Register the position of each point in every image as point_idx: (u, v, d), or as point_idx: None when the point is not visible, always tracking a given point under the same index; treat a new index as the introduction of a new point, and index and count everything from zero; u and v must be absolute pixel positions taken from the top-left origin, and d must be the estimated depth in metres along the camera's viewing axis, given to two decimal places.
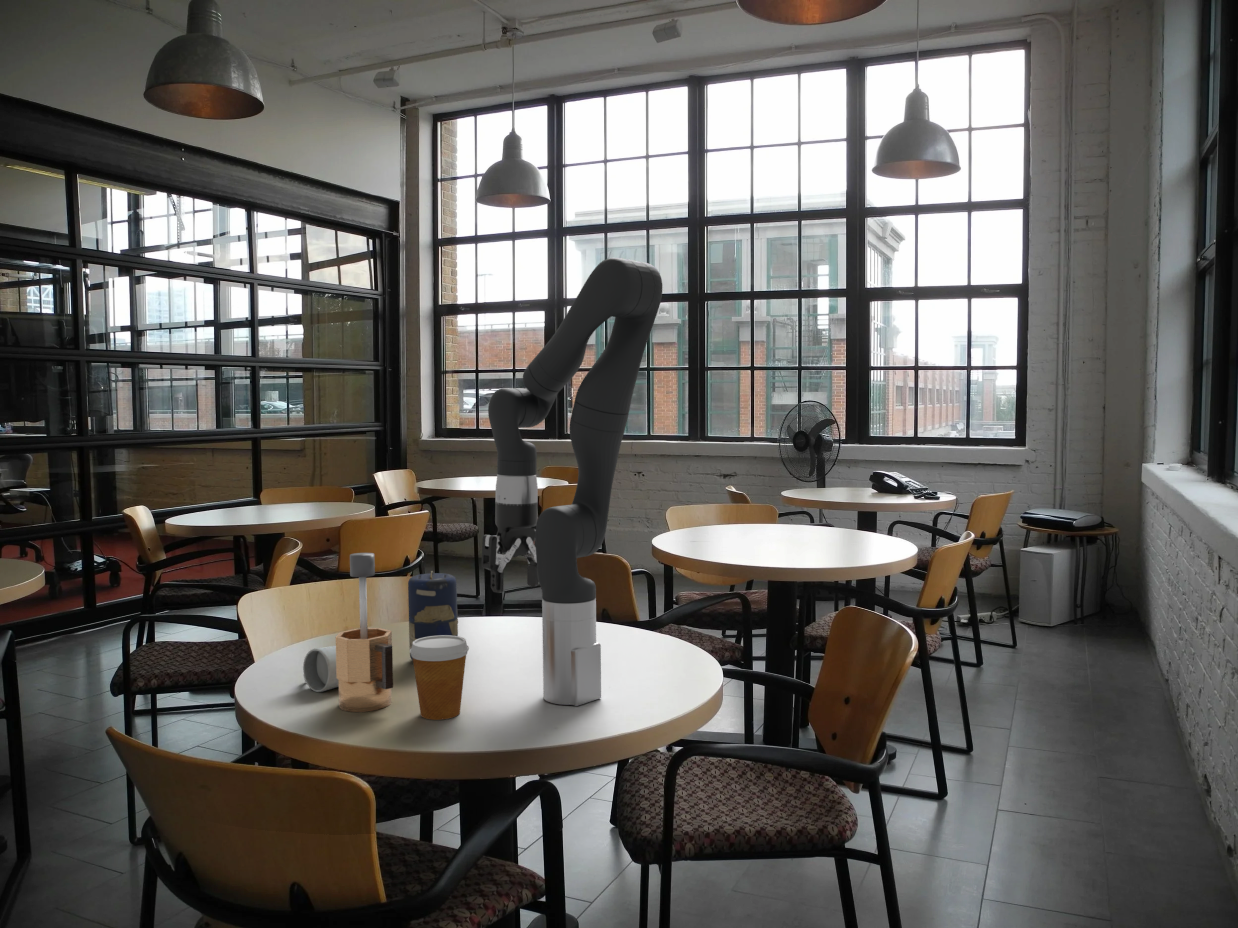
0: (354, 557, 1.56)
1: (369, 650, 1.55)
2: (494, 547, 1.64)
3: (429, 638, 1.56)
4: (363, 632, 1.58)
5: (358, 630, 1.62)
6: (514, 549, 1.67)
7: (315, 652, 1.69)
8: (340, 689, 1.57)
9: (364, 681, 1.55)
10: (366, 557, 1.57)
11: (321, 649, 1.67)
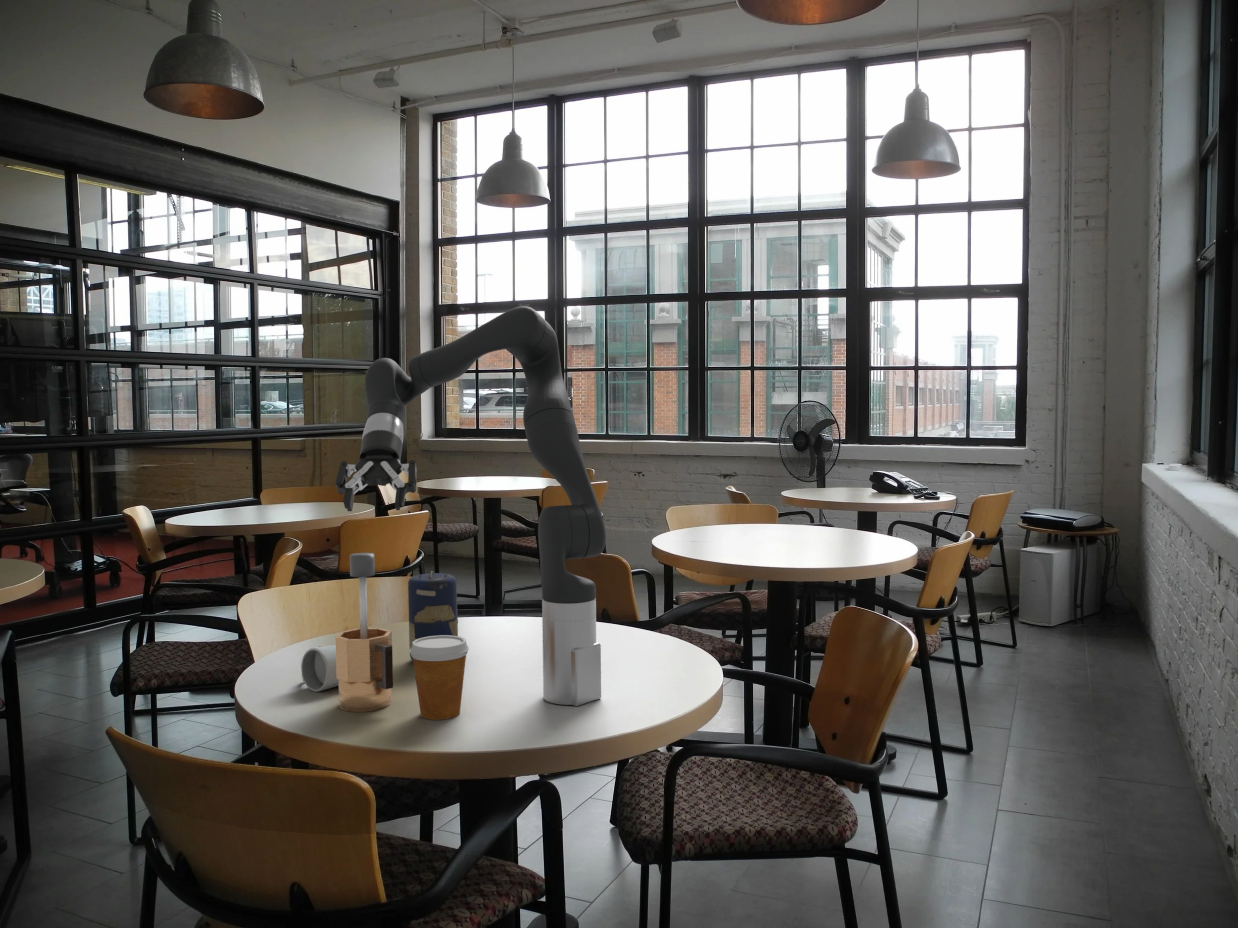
0: (354, 557, 1.56)
1: (369, 650, 1.55)
2: None
3: (429, 638, 1.56)
4: (363, 632, 1.58)
5: (358, 630, 1.62)
6: None
7: (313, 652, 1.69)
8: (340, 689, 1.57)
9: (364, 681, 1.55)
10: (366, 557, 1.57)
11: (319, 649, 1.67)
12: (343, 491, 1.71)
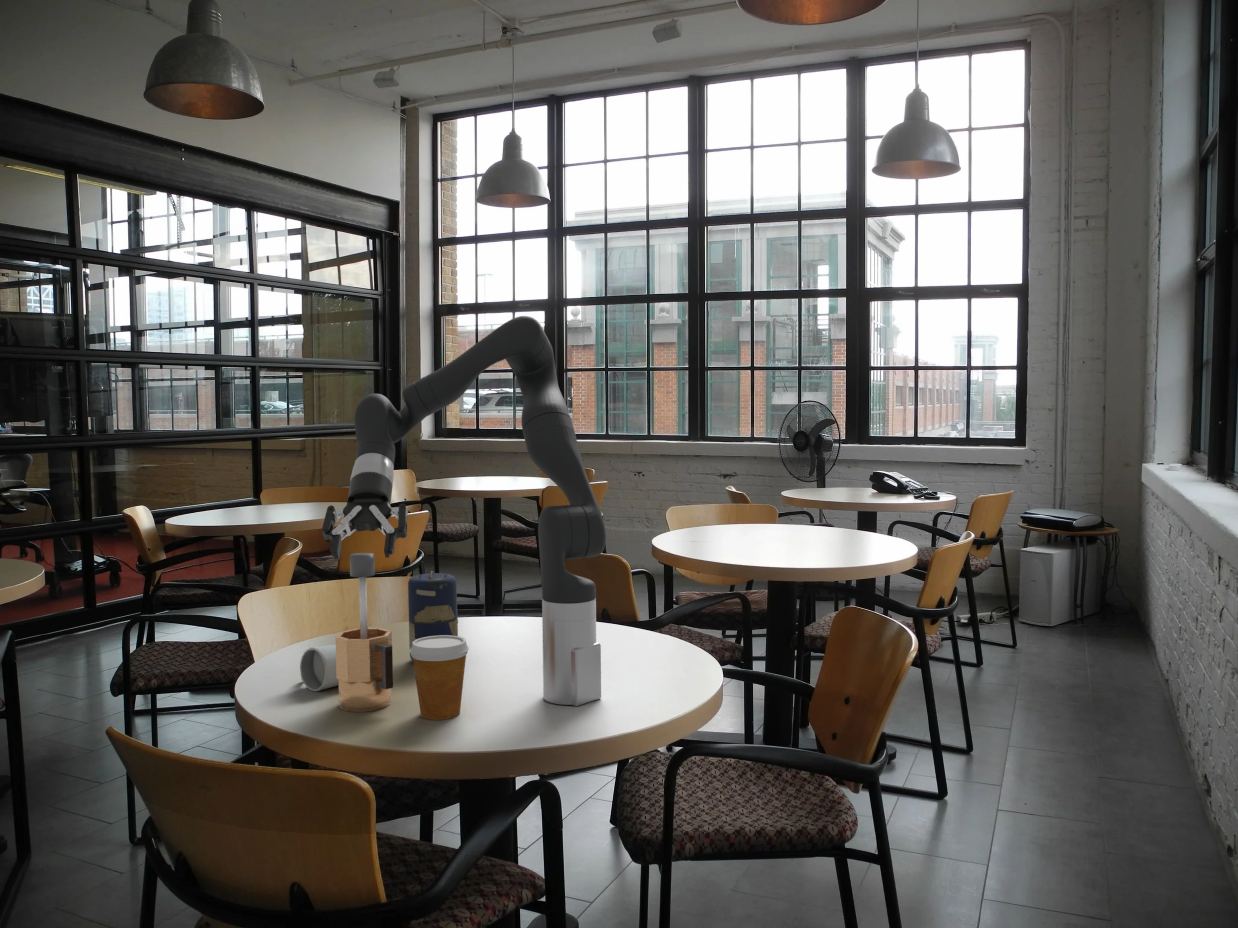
0: (354, 557, 1.56)
1: (369, 650, 1.55)
2: None
3: (429, 638, 1.56)
4: (363, 632, 1.58)
5: (358, 630, 1.62)
6: None
7: (312, 651, 1.70)
8: (340, 689, 1.57)
9: (364, 681, 1.55)
10: (366, 557, 1.57)
11: (318, 648, 1.67)
12: (330, 538, 1.63)
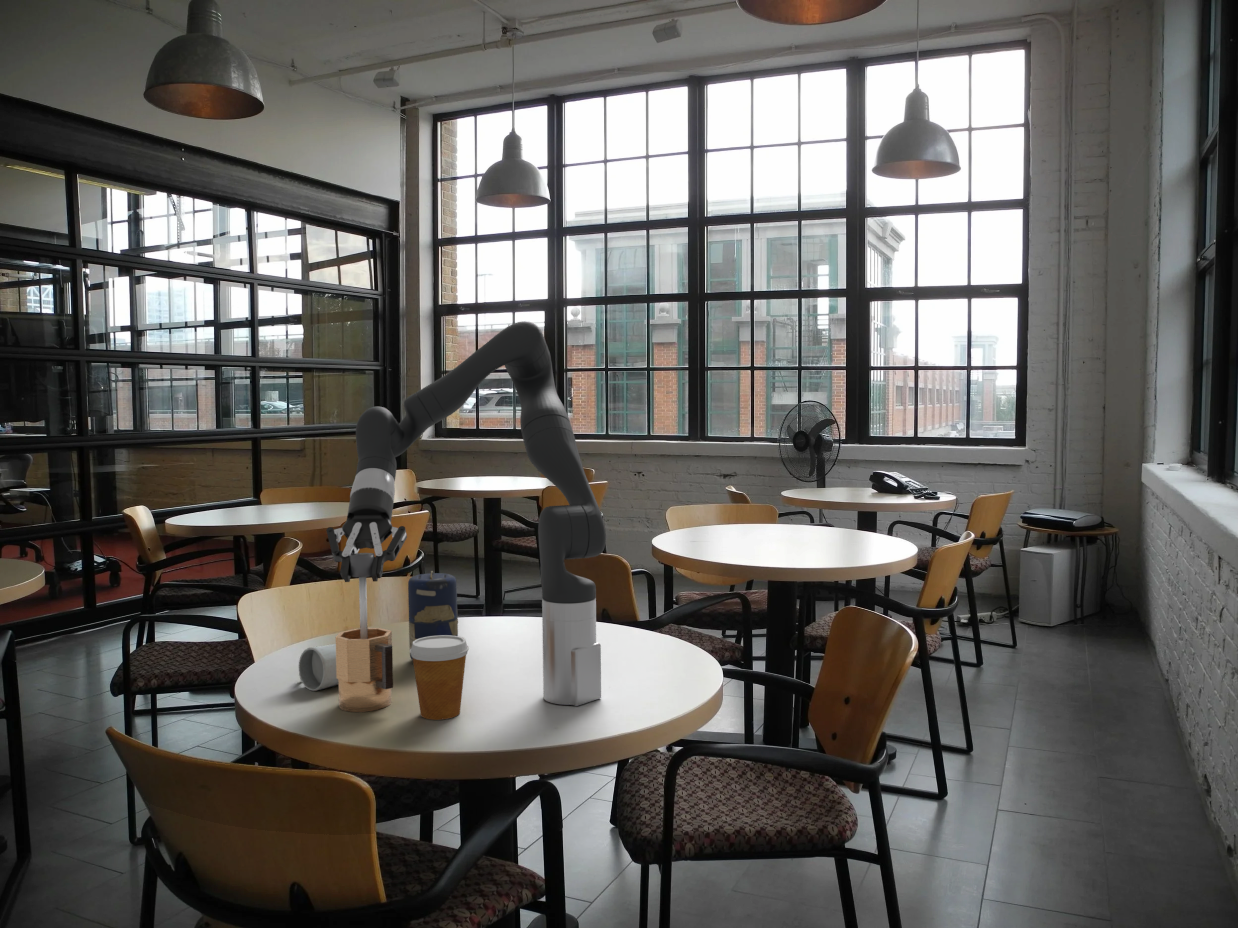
0: (354, 557, 1.56)
1: (369, 650, 1.55)
2: None
3: (429, 638, 1.56)
4: (363, 632, 1.58)
5: (358, 630, 1.62)
6: None
7: (310, 651, 1.70)
8: (340, 689, 1.57)
9: (364, 681, 1.55)
10: (366, 557, 1.57)
11: (316, 648, 1.67)
12: (340, 559, 1.59)
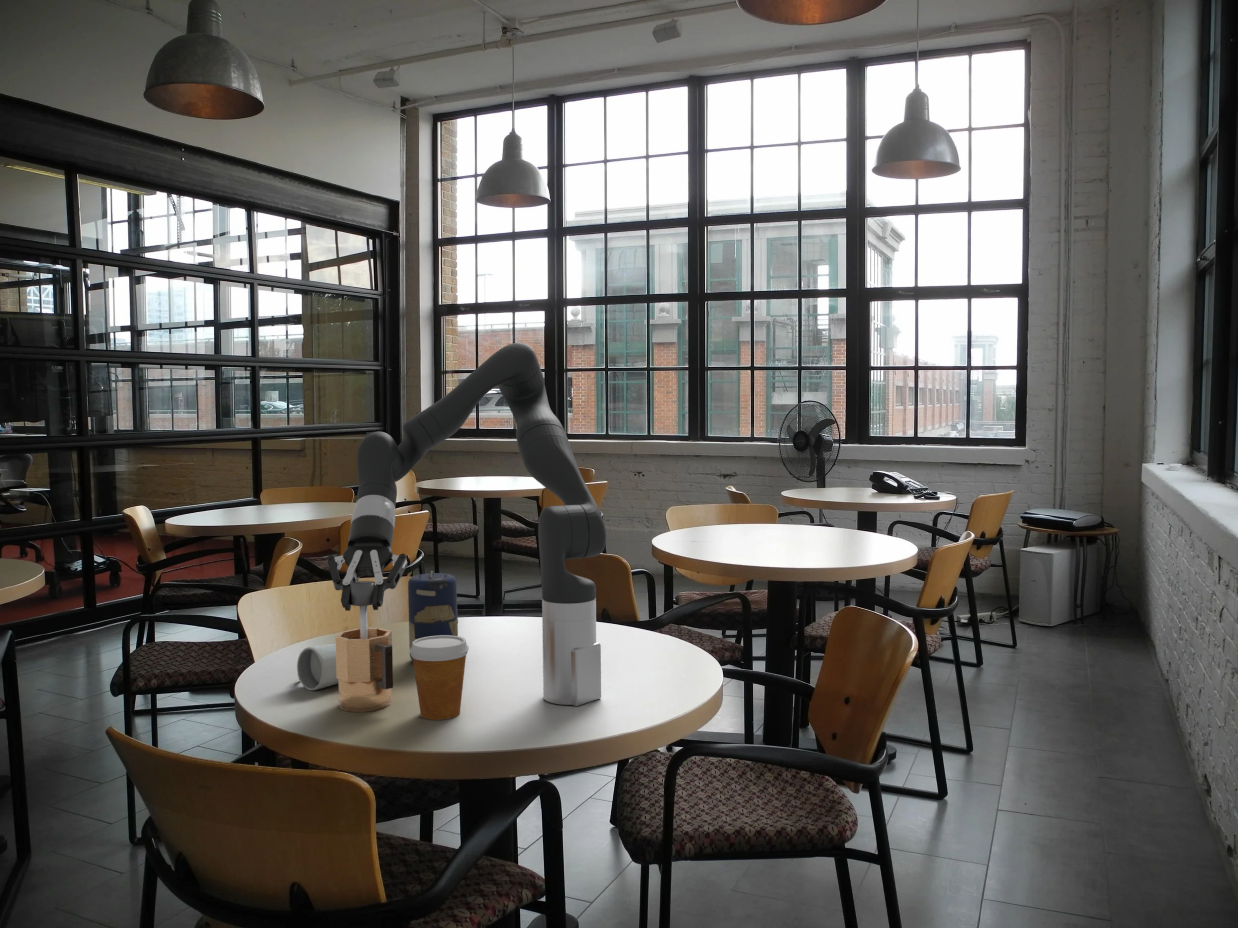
0: (355, 586, 1.57)
1: (369, 650, 1.55)
2: None
3: (429, 638, 1.56)
4: None
5: (358, 630, 1.62)
6: None
7: (309, 651, 1.70)
8: (340, 689, 1.57)
9: (364, 681, 1.55)
10: (367, 586, 1.57)
11: (315, 648, 1.68)
12: (341, 588, 1.59)
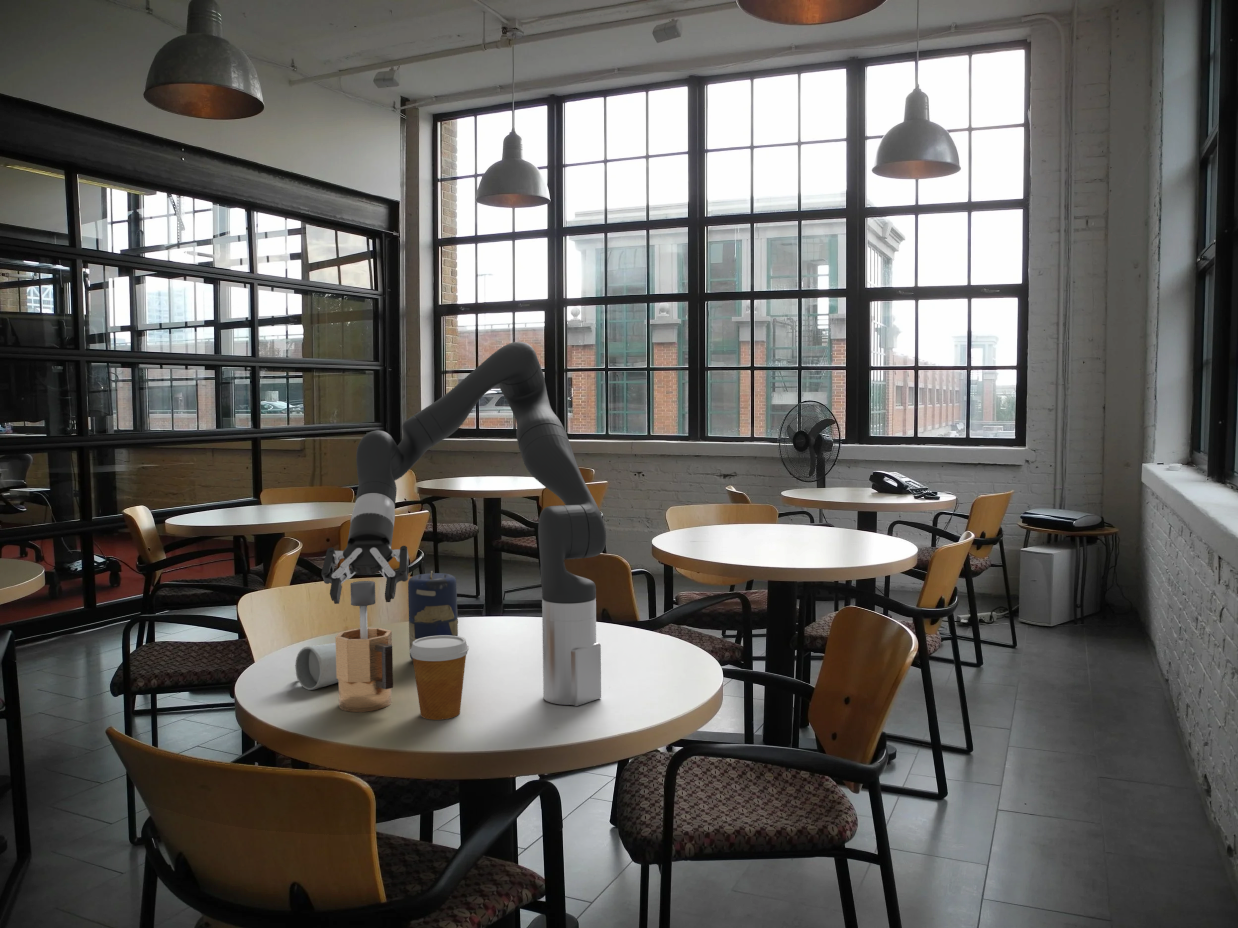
0: (355, 586, 1.57)
1: (369, 650, 1.55)
2: None
3: (429, 638, 1.56)
4: None
5: (358, 630, 1.62)
6: None
7: (307, 650, 1.71)
8: (340, 689, 1.57)
9: (364, 681, 1.55)
10: (367, 586, 1.57)
11: (313, 647, 1.68)
12: (330, 581, 1.60)
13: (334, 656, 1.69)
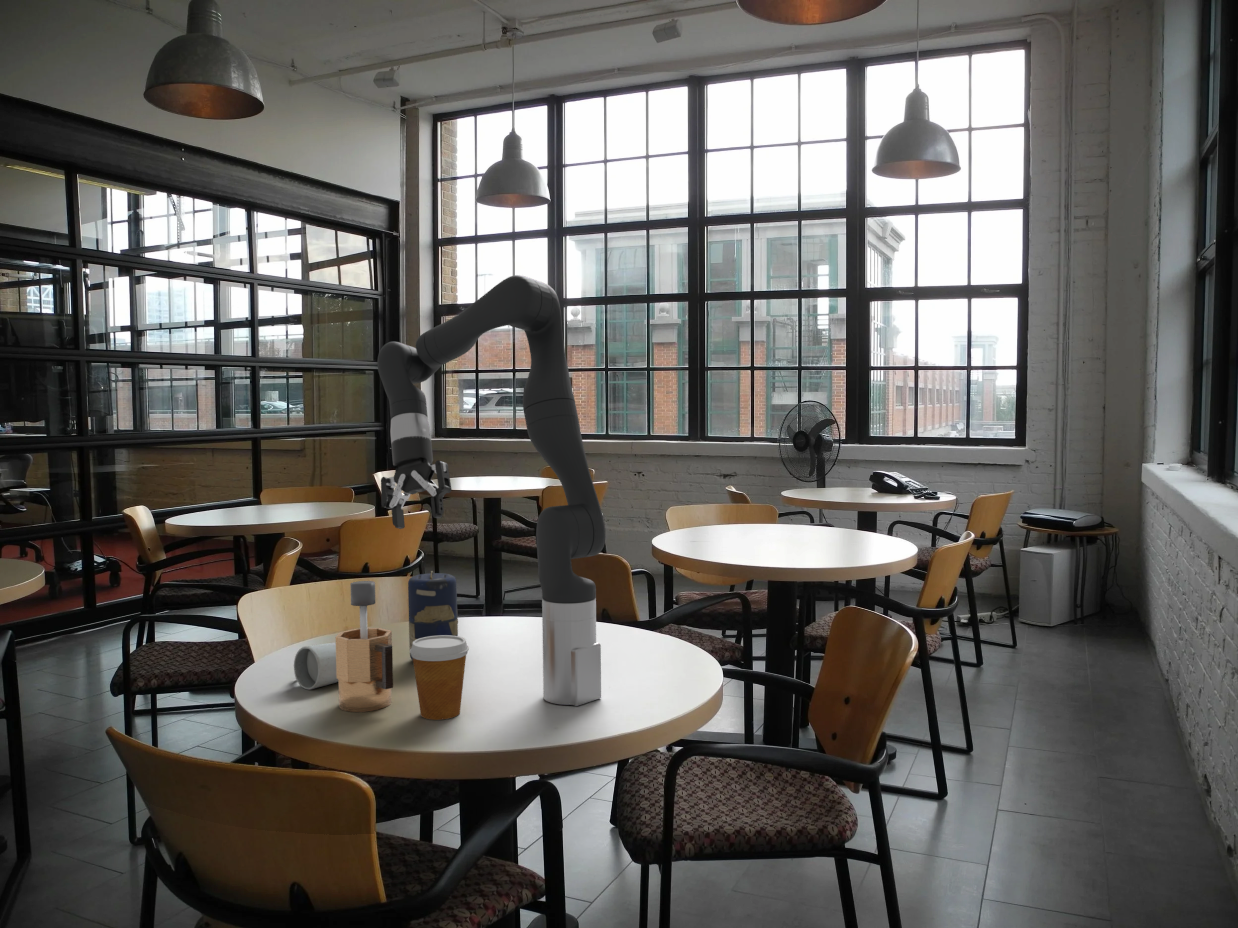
0: (355, 586, 1.57)
1: (369, 650, 1.55)
2: None
3: (429, 638, 1.56)
4: None
5: (358, 630, 1.62)
6: None
7: (305, 650, 1.71)
8: (340, 689, 1.57)
9: (364, 681, 1.55)
10: (367, 586, 1.57)
11: (311, 647, 1.68)
12: None
13: (332, 656, 1.69)
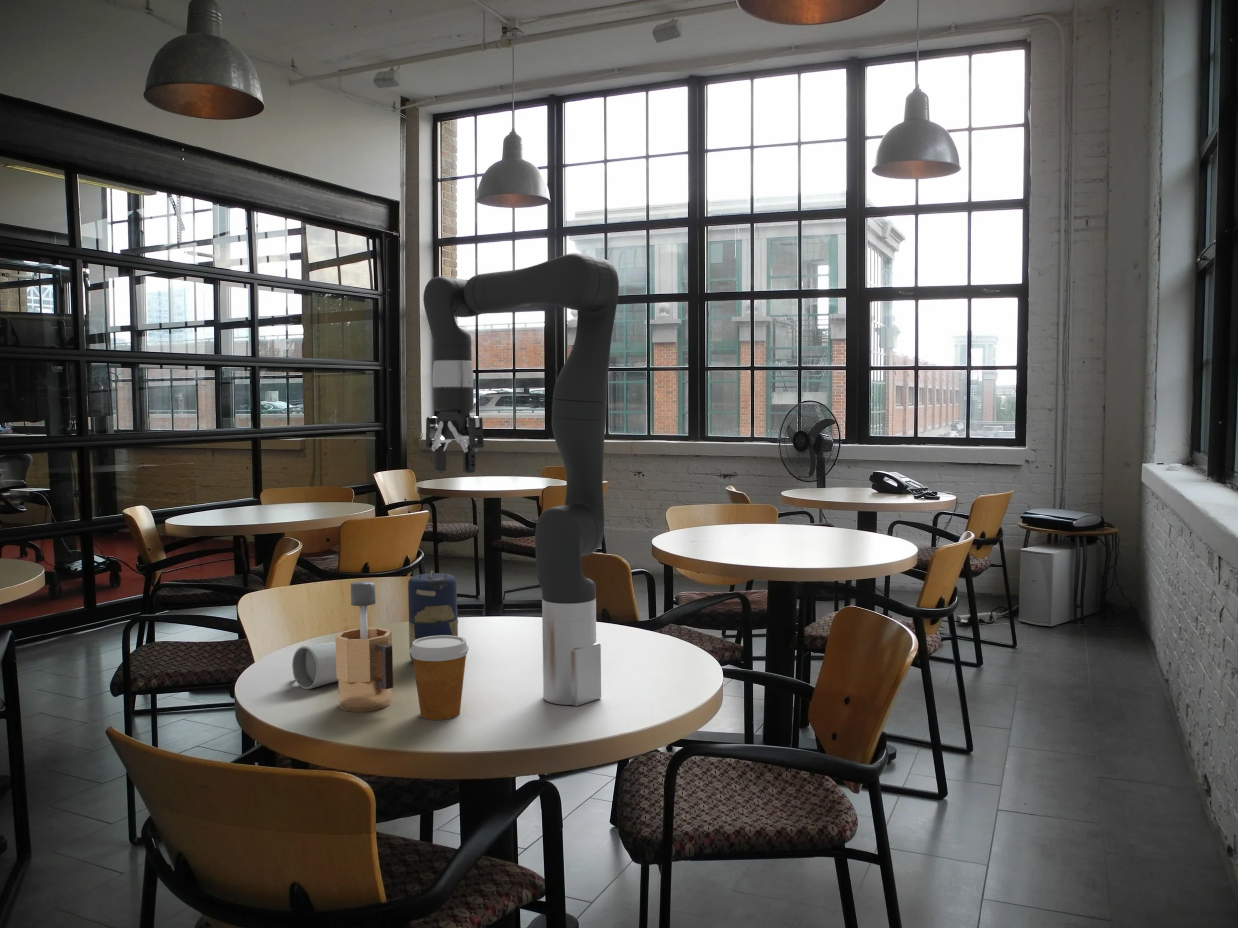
0: (355, 586, 1.57)
1: (369, 650, 1.55)
2: None
3: (429, 638, 1.56)
4: None
5: (358, 630, 1.62)
6: None
7: (304, 650, 1.71)
8: (340, 689, 1.57)
9: (364, 681, 1.55)
10: (367, 586, 1.57)
11: (309, 647, 1.69)
12: None
13: (331, 655, 1.69)
